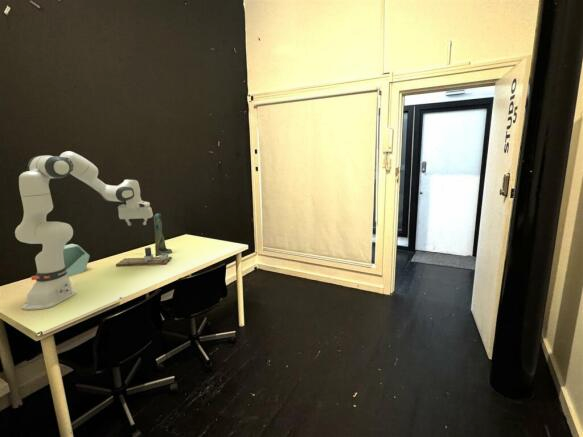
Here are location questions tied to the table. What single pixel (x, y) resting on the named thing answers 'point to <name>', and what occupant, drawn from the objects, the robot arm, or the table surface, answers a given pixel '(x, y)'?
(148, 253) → the divider leg
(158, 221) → the statue
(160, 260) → the plate
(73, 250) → the planter
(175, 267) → the table surface
